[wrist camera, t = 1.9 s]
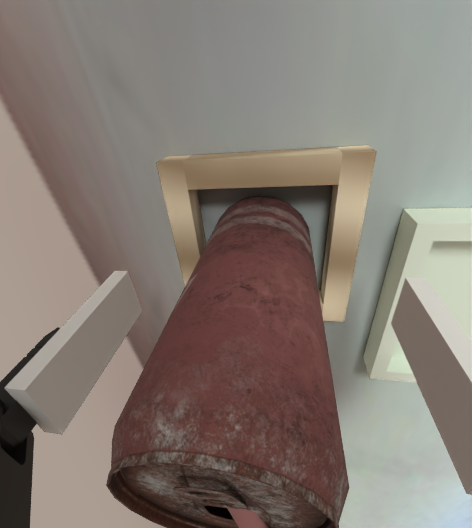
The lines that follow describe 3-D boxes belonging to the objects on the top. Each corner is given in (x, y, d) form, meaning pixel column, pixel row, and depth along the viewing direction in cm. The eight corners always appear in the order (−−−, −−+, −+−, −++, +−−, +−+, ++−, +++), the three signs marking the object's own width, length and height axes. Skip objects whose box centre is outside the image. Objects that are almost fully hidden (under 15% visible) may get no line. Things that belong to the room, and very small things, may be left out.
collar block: (167, 156, 16) (142, 170, 13) (367, 145, 14) (387, 159, 11) (208, 352, 25) (199, 383, 23) (330, 362, 23) (336, 397, 21)
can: (268, 291, 20) (243, 568, 9) (199, 239, 18) (57, 493, 7) (333, 239, 17) (432, 565, 5) (257, 171, 15) (172, 427, 4)
